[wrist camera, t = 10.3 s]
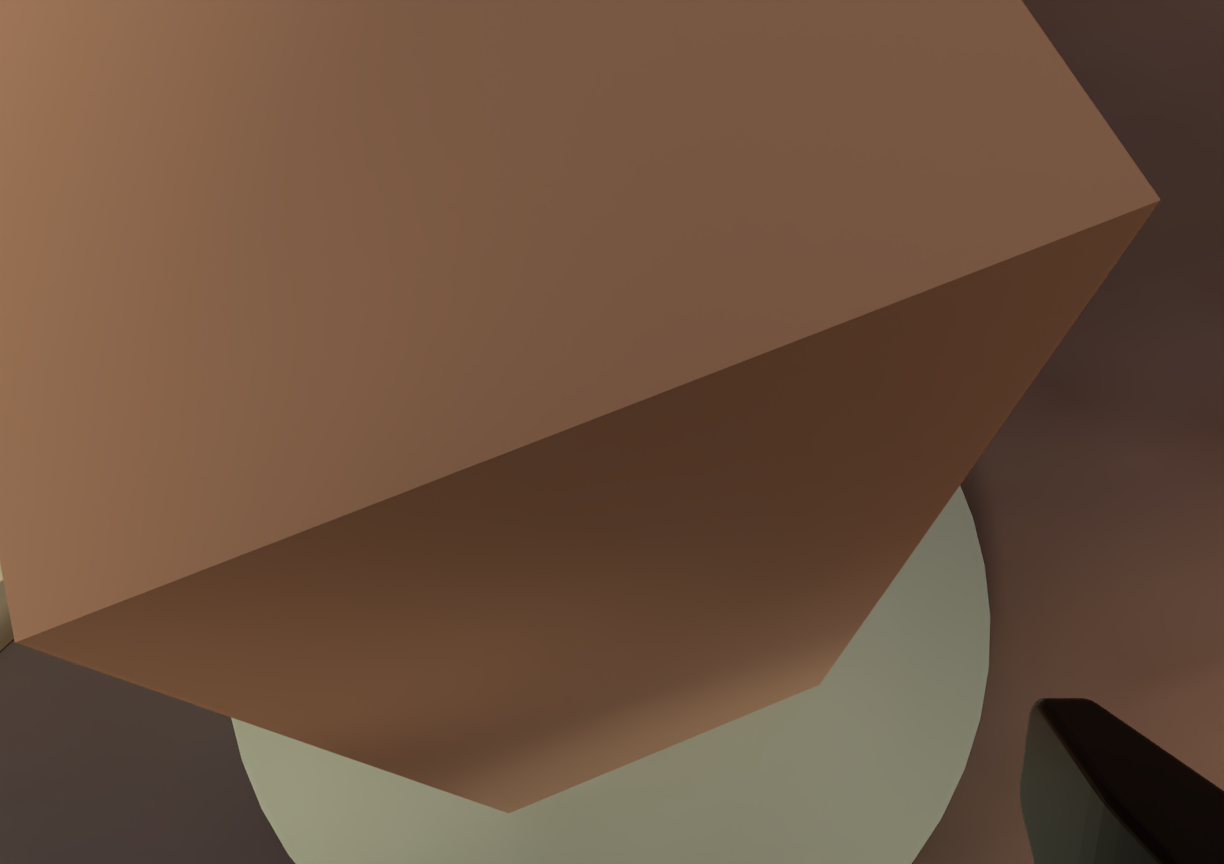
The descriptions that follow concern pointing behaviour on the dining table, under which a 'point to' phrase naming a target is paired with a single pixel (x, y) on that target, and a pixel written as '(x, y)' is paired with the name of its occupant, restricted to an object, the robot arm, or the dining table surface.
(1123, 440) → the dining table surface
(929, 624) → the dish
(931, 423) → the block
